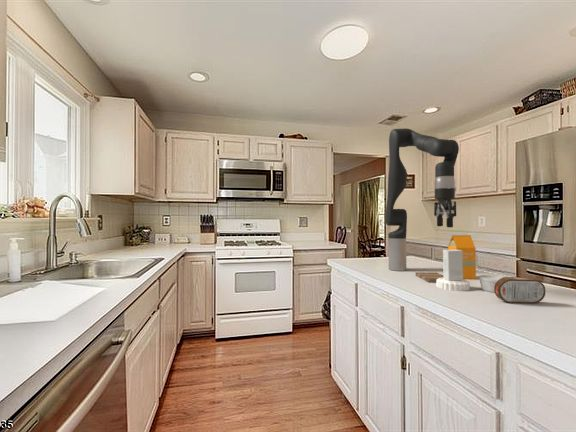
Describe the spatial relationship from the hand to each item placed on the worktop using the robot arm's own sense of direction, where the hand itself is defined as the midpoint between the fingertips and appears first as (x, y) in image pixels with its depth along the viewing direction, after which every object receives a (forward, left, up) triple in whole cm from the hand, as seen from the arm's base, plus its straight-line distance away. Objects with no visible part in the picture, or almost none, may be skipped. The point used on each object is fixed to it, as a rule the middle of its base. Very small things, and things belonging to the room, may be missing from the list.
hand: (444, 226), depth 125 cm
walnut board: (-15, +1, -25) cm, 29 cm away
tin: (+23, +14, -25) cm, 37 cm away
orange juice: (-19, +16, -25) cm, 35 cm away
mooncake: (+2, +2, -25) cm, 25 cm away
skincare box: (+2, +2, -22) cm, 22 cm away
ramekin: (+7, +16, -25) cm, 31 cm away
